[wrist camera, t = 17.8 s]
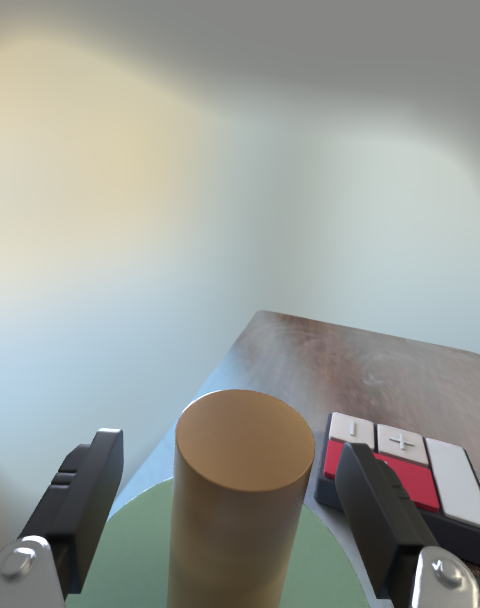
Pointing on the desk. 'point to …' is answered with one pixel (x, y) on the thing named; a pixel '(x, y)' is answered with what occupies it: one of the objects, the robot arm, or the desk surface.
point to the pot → (155, 561)
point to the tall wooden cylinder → (236, 499)
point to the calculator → (413, 478)
